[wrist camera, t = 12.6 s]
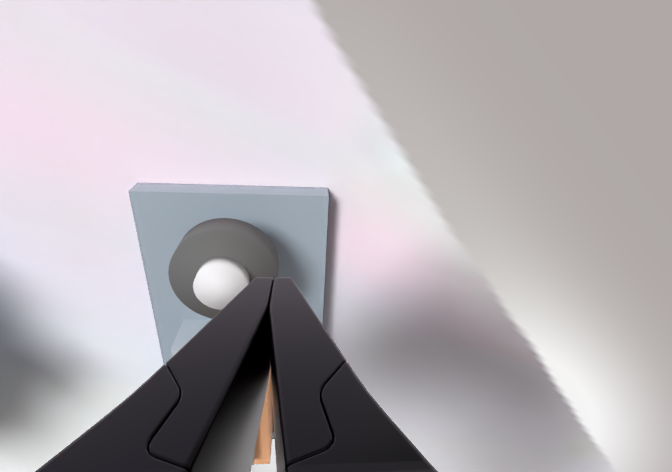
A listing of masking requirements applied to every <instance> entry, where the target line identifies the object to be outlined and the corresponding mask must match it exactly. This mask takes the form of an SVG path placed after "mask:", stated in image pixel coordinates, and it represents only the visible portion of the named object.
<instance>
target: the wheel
mask: <svg viewBox="0 0 672 472" xmlns="http://www.w3.org/2000/svg"><path fill="white" fill-rule="evenodd" d="M278 271H279V258H278V254H277V251H276V248H275V246H274V245H273V243H272V241H271V240H270V239H269V237H268V236H267V235H266V234H265V233H264V232H262V231H261V230H260V229H258V228H257V227H255V226H253V225H252V224H249V223H247V222H244V221H241V220H237V219H232V218H216V219H211V220H207V221H204V222H202V223H200V224H198V225H196V226H194V227H193V228H192V229H190V230H189V231H188V232H187V233H186V234H185V236H184V237H183V239H182V240H181V242H180V244H179V245H178V247H177V249H176V250H175V252H174V254H173V255H172V258H171V260H170V264H169V270H168V274H169V281H170V285H171V287H172V289H173V291H174V293H175V295H176V296H177V297H178V298H179V300H180V301H181V302H182V303H183V304H184V305H185V306H187V307H188V308H189V309H191V310H192V311H194V312H196V313H198V314H200V315H202V316H205V317H208V318H213V317H214V316H216V315H217V314H218V313H219V312H220V311H221V310H222V309H223V308H224V307H225V306H226V305H227V304H228V303H229V302H230V301H231V300H232V299H233V298H234V297H235V296H237V295H238V294H239V293H240V292H241V291H242V290H243V289H244V288H245V287H246V286H247V285H248V284H249V283H250V282H251V281H252V280H253V279H254V278H256V277H271V278H273V280H274V279H275V278H277V277H278Z"/></svg>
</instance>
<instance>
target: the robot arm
mask: <svg viewBox="0 0 672 472" xmlns="http://www.w3.org/2000/svg"><path fill="white" fill-rule="evenodd" d="M270 367H271V388H272V403H273V418H274V434H275V449H276V464H277V472H438V471H437V470H436V469H435V468H434V467H433V466H432V465H431V464H430V463H429V462H428V461H427V460H426V459H425V457H424V456H423V455H422V454H421V453H420V452H419V451H418V449H417V448H416V447H415V446H414V445H413V444H412V443H411V441H410V440H409V439H408V438H407V437H406V436H405V435H404V434H403V432H402V431H401V430H400V429H399V428H398V427H397V426H396V424H395V423H394V422H393V421H392V420H391V419H390V418H389V416H388V415H387V414H386V413H385V412H384V411H383V409H382V408H381V407H380V406H379V405H378V403H377V402H376V401H375V400H374V399H373V397H372V396H371V395H370V394H369V393H368V391H367V390H366V388H365V387H364V386H363V384H362V383H361V381H360V380H359V379H358V377H357V376H356V374H355V373H354V371H353V370H352V368H351V367H350V365H349V364H348V363H347V362H346V359H345V358H344V356H343V355H342V353H341V352H340V350H339V349H338V347H337V346H336V344H335V343H334V341H333V340H332V338H331V337H330V335H329V334H328V332H327V331H326V329H325V328H324V326H323V324H322V323H321V321H320V320H319V318H318V317H317V315H316V314H315V312H314V311H313V309H312V308H311V306H310V305H309V303H308V302H307V300H306V299H305V297H304V296H303V294H302V293H301V291H300V290H299V288H298V287H297V285H296V284H295V282H294V281H293V279H292V278H290V277H277V278H275V279H274V280H273V278H271V277H256V278H254V279H253V280H252V281H251V282H250V283H249V284H248V285H247V286H246V287H245V288H244V289H243V290H242V291H241V292H240V293H239V294H238V295H237V296H235V297H234V298H233V299H232V300H231V301H230V302H229V303H228V304H227V305H226V306H225V307H224V308H223V309H222V310H221V311H220V312H219V313H218V314H217V315H216V316H214V317H213V318H212V319H211V320H210V321H209V322H208V323H207V324H206V325H205V326H204V327H203V328H202V329H201V330H200V331H199V332H198V333H197V334H196V335H195V336H194V337H192V338H191V339H190V340H189V341H188V342H187V343H186V344H185V345H184V346H183V347H182V348H181V349H180V350H179V351H178V352H177V353H176V354H175V355H174V356H173V357H171V358H170V359H169V360H168V361H167V362H166V365H163V366H162V367H161V368H160V369H159V370H158V371H157V372H156V373H154V374H153V375H152V376H151V377H150V378H149V379H148V380H147V381H146V382H145V383H144V384H143V385H141V386H140V387H139V388H138V389H137V390H136V391H135V392H134V393H133V394H131V395H130V396H129V397H128V398H127V399H126V400H124V401H123V402H122V403H121V404H120V405H118V406H117V407H116V408H115V409H113V410H112V411H111V412H110V413H109V414H107V415H106V416H105V417H104V418H103V419H101V420H100V421H99V422H97V423H96V424H95V425H94V426H92V427H91V428H90V429H89V430H87V431H86V432H85V433H84V434H82V435H81V436H80V437H79V438H77V439H76V440H75V441H73V442H72V443H71V444H70V445H68V446H67V447H66V448H65V449H63V450H62V451H61V452H60V453H58V454H57V455H56V456H54V457H53V458H52V459H51V460H49V461H48V462H47V463H46V464H44V465H43V466H42V467H41V468H39V469H38V470H37V471H36V472H250V471H251V466H252V461H253V456H254V451H255V446H256V441H257V436H258V431H259V426H260V421H261V416H262V411H263V406H264V401H265V396H266V391H267V386H268V381H269V375H270Z"/></svg>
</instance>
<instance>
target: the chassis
mask: <svg viewBox="0 0 672 472" xmlns="http://www.w3.org/2000/svg"><path fill="white" fill-rule="evenodd" d="M129 196H130V201H131V206H132V211H133V215H134V220H135V225H136V230H137V235H138V240H139V245H140V250H141V255H142V260H143V264H144V269H145V274H146V279H147V284H148V289H149V294H150V299H151V304H152V308H153V313H154V318H155V323H156V328H157V333H158V338H159V343H160V348H161V353H162V357H163V362H164V365H166V362H167V361H168V360H169V359H170V358H171V357H173V356H174V355H175V354H176V353H177V352H178V351H179V350H180V349H181V348H182V347H183V346H184V345H185V344H186V343H187V342H188V341H189V340H190V339H191V338H192V337H194V336H195V335H196V334H197V333H198V332H199V331H200V330H201V329H202V328H203V327H204V326H205V325H206V324H207V323H208V322H209V321H210V320H211V319H212V318H208V317H205V316H202V315H200V314H198V313H196V312H194V311H192V310H191V309H189V308H188V307H187V306H185V305H184V304H183V303H182V302H181V301H180V300H179V298H178V297H177V296H176V295H175V293H174V291H173V289H172V287H171V285H170V281H169V274H168V270H169V264H170V260H171V258H172V255H173V254H174V252H175V250H176V249H177V247H178V245H179V244H180V242H181V240H182V239H183V237H184V236H185V234H186V233H187V232H188V231H189V230H190V229H192V228H193V227H194V226H196V225H198V224H200V223H202V222H204V221H207V220H211V219H216V218H232V219H237V220H241V221H244V222H247V223H249V224H252V225H253V226H255V227H257V228H258V229H260V230H261V231H262V232H264V233H265V234H266V235H267V236H268V237H269V239H270V240H271V241H272V243H273V245H274V246H275V248H276V251H277V254H278V258H279V271H278V277H290V278H292V279H293V281H294V282H295V284H296V285H297V287H298V288H299V290H300V291H301V293H302V294H303V296H304V297H305V299H306V300H307V302H308V303H309V305H310V306H311V308H312V309H313V311H314V312H315V314H316V315H317V317H318V318H319V320H320V321H321V323H322V324H323V306H324V285H325V265H326V245H327V224H328V204H329V193H328V188H313V187H275V186H237V185H199V184H161V183H137V184H136V185H135V186H134V187H133V188H131V189H130V190H129ZM272 439H275V434H274V418H273V430H272Z"/></svg>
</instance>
